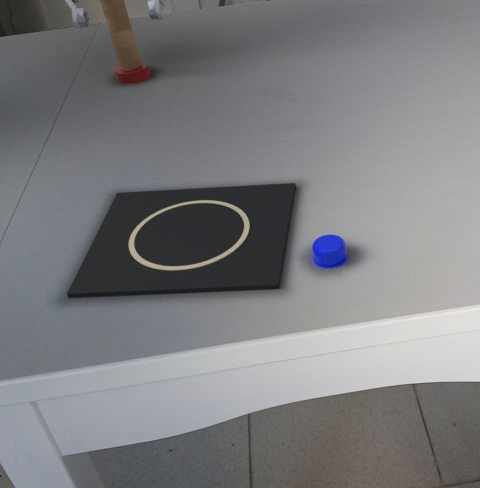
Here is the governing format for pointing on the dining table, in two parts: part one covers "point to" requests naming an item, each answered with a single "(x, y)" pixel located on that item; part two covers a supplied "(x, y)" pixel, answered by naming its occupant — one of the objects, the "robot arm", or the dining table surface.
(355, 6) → the dining table surface
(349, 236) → the dining table surface
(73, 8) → the robot arm
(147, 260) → the mat
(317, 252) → the bottle cap
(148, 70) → the stamp
